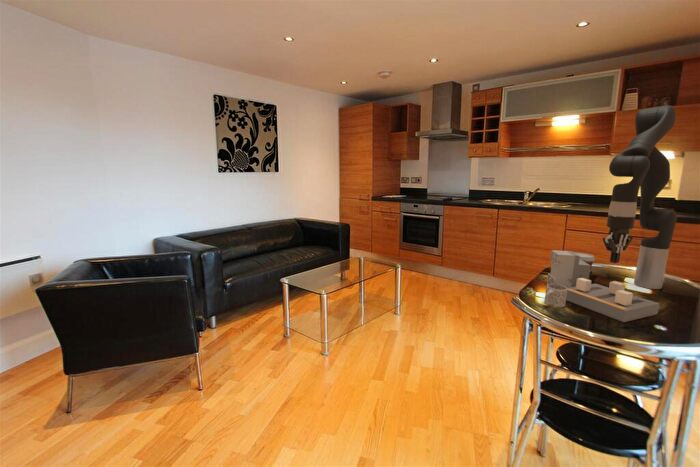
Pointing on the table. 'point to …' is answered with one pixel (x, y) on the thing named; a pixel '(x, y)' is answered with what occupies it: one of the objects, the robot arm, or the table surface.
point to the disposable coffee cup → (586, 258)
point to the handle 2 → (623, 297)
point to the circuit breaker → (567, 268)
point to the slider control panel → (612, 303)
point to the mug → (555, 295)
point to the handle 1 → (583, 284)
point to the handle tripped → (616, 287)
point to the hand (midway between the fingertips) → (614, 262)
